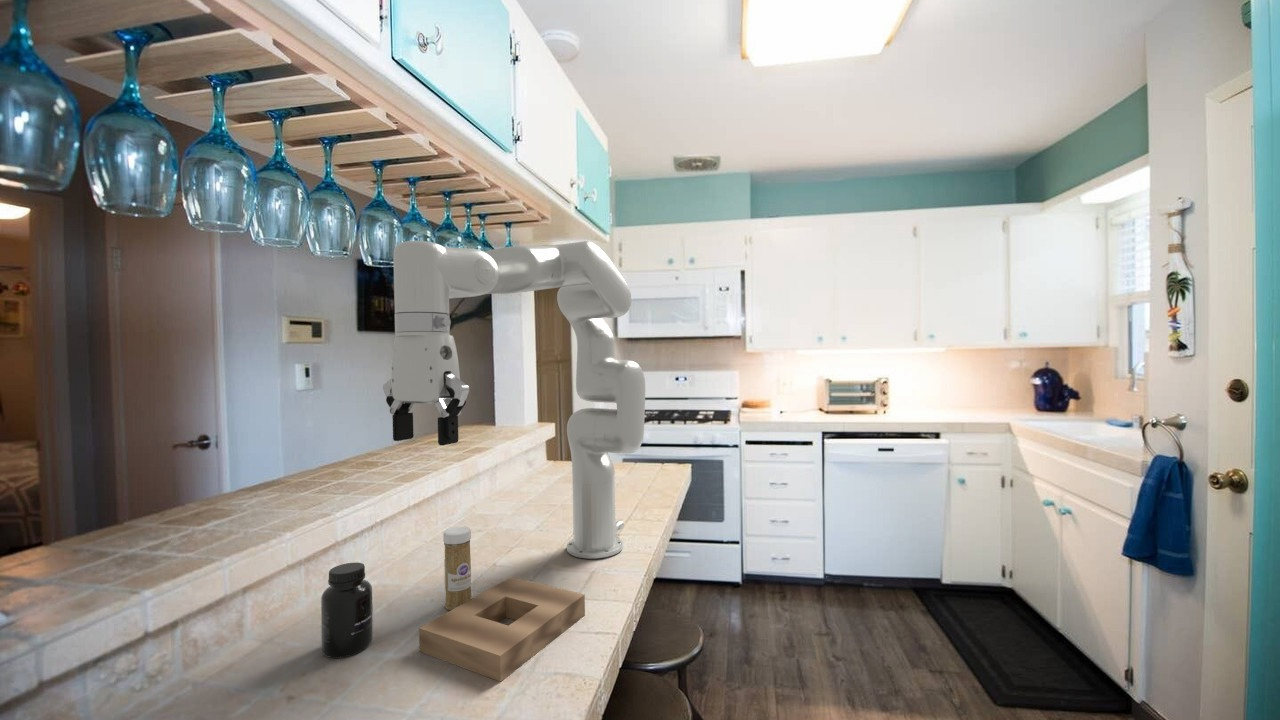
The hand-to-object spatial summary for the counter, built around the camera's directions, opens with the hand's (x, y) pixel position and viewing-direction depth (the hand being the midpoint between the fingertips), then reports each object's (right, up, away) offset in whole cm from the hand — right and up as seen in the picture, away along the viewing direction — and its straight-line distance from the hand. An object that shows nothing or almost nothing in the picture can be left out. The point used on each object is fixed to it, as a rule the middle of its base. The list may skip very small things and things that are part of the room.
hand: (425, 441), depth 78 cm
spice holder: (+11, -31, +5) cm, 33 cm away
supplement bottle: (-12, -32, +2) cm, 34 cm away
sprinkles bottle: (0, -31, +14) cm, 34 cm away
